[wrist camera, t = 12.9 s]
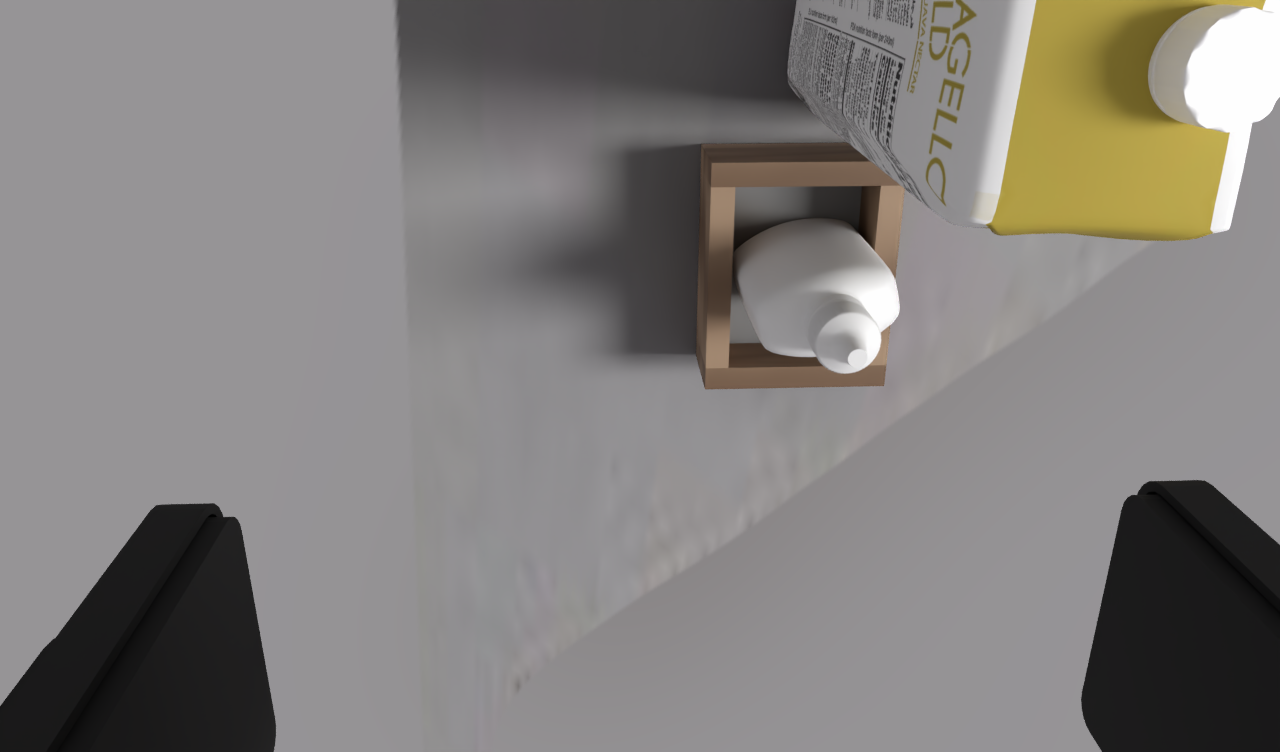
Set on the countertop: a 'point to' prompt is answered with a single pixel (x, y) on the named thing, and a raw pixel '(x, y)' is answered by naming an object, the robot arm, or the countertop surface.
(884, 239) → the bottle holder
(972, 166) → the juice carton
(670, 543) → the countertop surface
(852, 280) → the eye dropper bottle
